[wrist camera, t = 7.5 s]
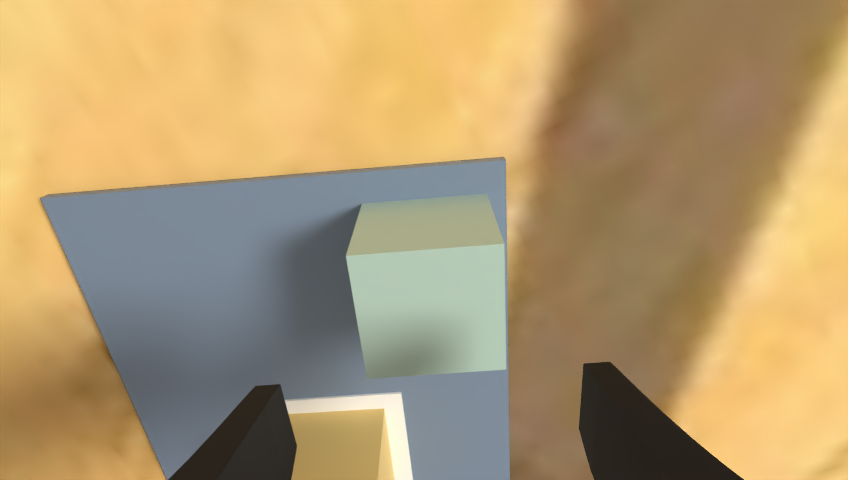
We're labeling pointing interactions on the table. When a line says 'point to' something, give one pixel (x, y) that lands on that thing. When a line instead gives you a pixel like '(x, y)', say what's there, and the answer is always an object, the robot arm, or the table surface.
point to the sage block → (429, 286)
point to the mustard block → (342, 445)
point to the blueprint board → (272, 309)
